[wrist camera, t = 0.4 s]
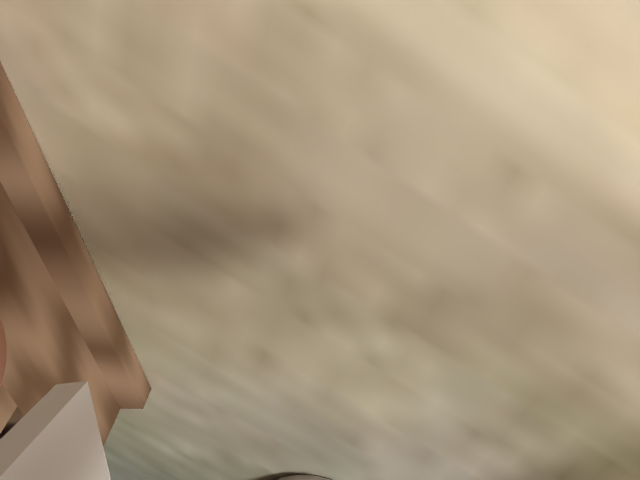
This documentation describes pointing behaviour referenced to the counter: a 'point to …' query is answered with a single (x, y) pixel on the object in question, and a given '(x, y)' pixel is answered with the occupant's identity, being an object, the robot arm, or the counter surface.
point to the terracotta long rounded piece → (2, 352)
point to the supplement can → (303, 477)
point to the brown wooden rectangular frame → (53, 291)
